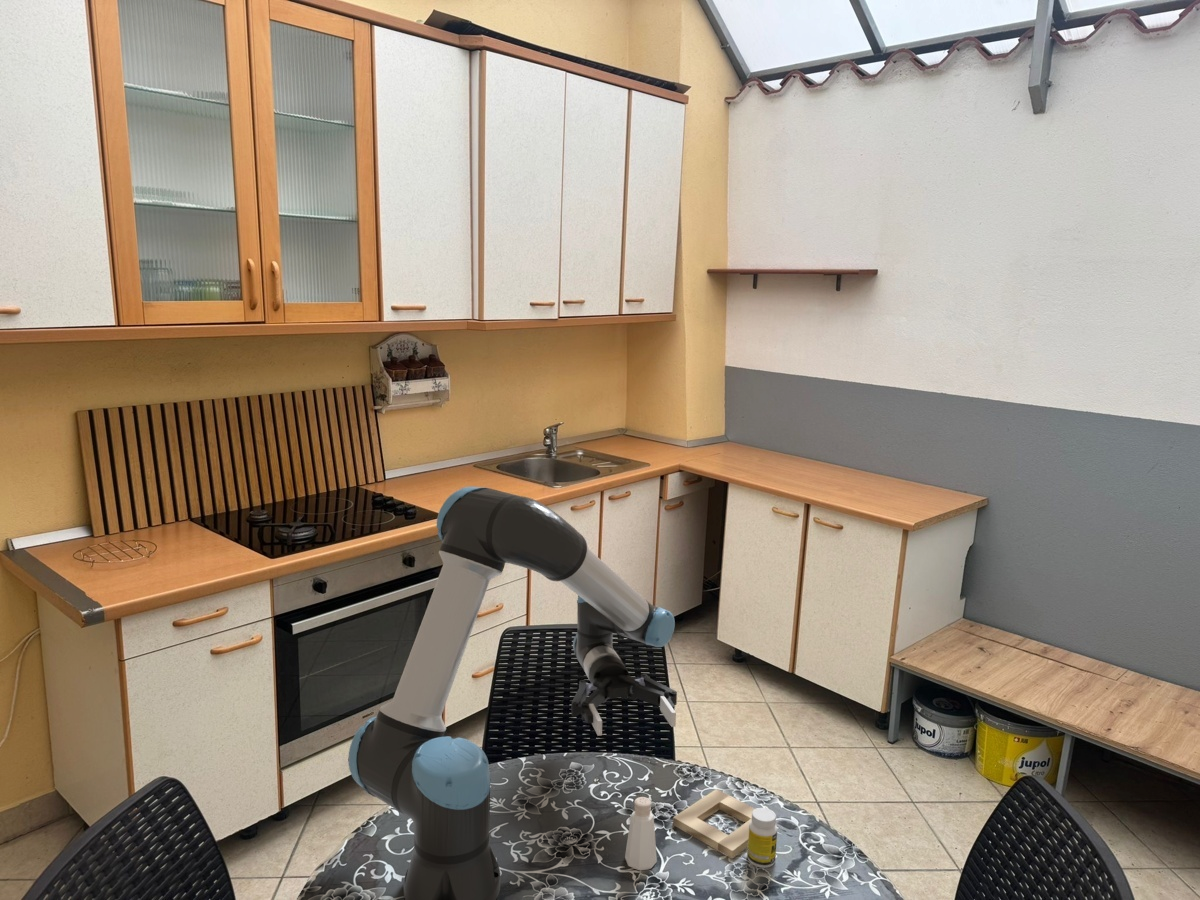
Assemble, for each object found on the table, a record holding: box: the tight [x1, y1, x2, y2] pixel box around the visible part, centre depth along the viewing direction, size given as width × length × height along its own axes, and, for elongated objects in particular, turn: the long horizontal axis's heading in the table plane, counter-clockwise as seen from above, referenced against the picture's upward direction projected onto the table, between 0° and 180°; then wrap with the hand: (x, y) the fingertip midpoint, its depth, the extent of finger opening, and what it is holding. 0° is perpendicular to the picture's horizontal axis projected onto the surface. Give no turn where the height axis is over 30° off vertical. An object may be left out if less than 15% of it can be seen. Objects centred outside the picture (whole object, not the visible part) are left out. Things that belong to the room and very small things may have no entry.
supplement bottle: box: [746, 807, 778, 869], centre depth 140 cm, size 5×5×8 cm
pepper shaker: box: [624, 796, 658, 872], centre depth 139 cm, size 5×5×11 cm
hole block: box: [672, 788, 756, 860], centre depth 149 cm, size 13×13×2 cm
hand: (637, 724), depth 146 cm, fingers open, 13 cm apart
